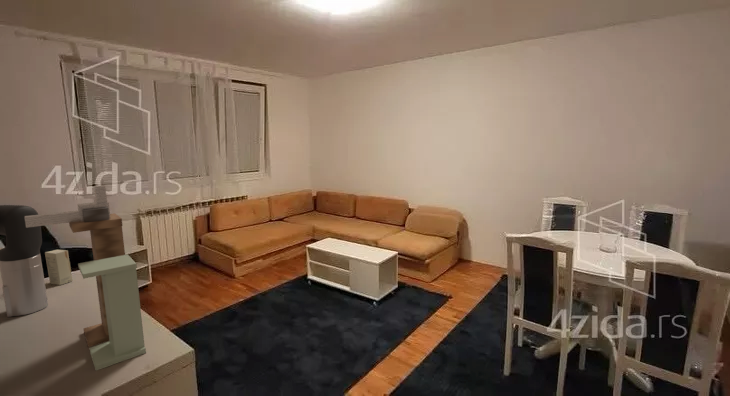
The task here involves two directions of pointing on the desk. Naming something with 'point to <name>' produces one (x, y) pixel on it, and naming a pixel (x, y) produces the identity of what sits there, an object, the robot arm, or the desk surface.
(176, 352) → the desk surface
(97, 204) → the grey stepped block
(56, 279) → the skincare box
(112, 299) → the green flanged bracket
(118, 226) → the wooden pedestal post
